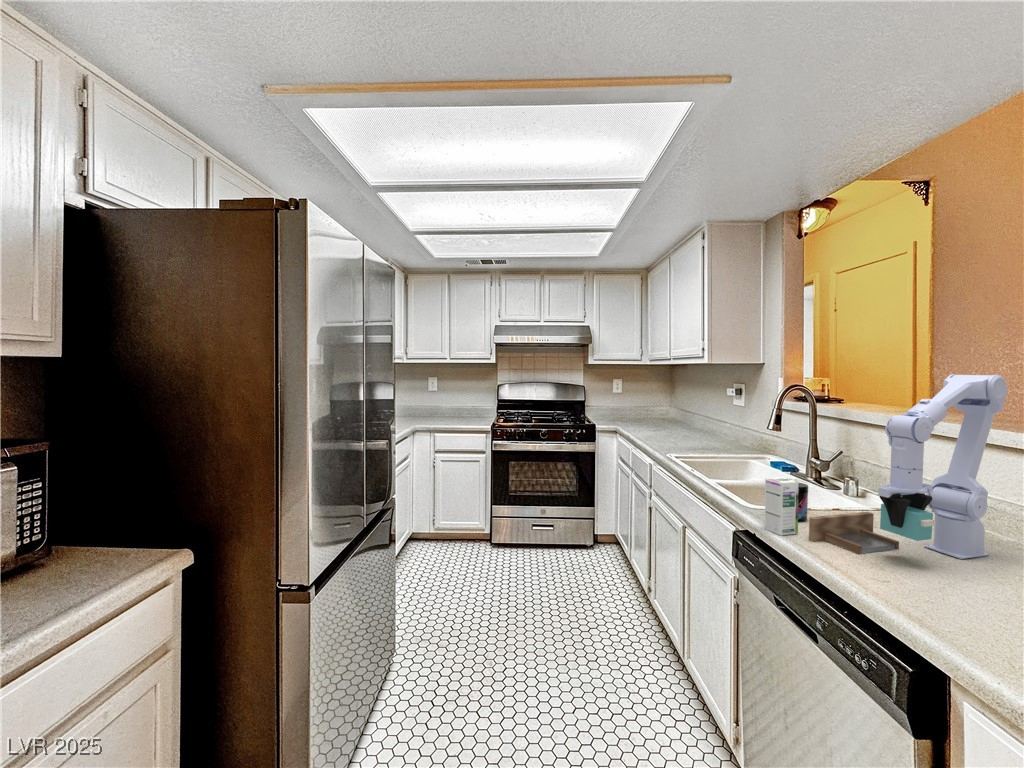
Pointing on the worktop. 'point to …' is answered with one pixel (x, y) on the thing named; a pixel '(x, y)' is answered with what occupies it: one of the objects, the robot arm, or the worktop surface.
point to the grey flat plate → (868, 542)
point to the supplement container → (802, 502)
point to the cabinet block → (910, 524)
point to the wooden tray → (844, 529)
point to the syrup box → (781, 506)
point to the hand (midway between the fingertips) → (904, 525)
